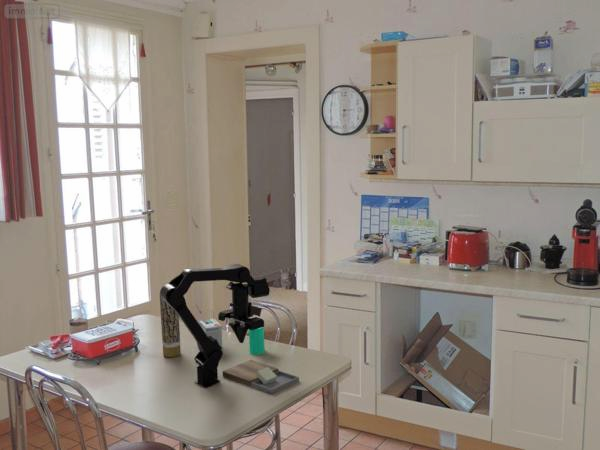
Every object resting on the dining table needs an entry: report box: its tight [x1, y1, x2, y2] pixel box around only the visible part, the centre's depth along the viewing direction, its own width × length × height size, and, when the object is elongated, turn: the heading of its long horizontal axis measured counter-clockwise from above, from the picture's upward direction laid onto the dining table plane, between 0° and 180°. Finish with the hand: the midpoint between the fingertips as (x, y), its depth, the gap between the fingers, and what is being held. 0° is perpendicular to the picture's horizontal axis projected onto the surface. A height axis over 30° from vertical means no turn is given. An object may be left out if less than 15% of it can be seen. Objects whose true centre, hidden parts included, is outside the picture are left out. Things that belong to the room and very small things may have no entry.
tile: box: [256, 367, 277, 385], centre depth 217 cm, size 5×5×2 cm
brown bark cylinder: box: [159, 295, 182, 358], centre depth 244 cm, size 7×7×25 cm
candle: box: [248, 326, 266, 355], centre depth 246 cm, size 6×6×12 cm
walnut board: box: [222, 359, 279, 387], centre depth 223 cm, size 14×14×2 cm
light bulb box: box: [198, 318, 224, 352], centre depth 251 cm, size 11×7×11 cm, turn 25°
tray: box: [250, 369, 300, 395], centre depth 216 cm, size 14×10×2 cm
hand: (241, 342), depth 223 cm, fingers closed
